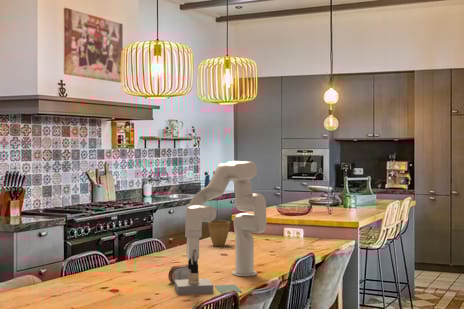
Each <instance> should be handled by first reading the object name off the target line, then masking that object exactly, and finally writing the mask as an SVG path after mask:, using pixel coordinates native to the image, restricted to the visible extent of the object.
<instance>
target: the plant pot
mask: <svg viewBox="0 0 464 309" xmlns="http://www.w3.org/2000/svg"><path fill="white" fill-rule="evenodd" d="M207 224H208V232H209V236H210V240H211V243H212V246H214V247H224V246H225V244H226V242H227V239H228V234H229V231H230V225H231V221H228V220H213V221H210V222H207Z"/></svg>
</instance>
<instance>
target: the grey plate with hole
mask: <svg viewBox="0 0 464 309" xmlns="http://www.w3.org/2000/svg"><path fill="white" fill-rule="evenodd" d="M174 289H175V291H176V293H177V295H196V294H198V295H199V294H202V295H203V294H214V284H213V283H212V282H211V280H210V279H209V278H199V283H197V284H189V279H184V280H175V283H174Z"/></svg>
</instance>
